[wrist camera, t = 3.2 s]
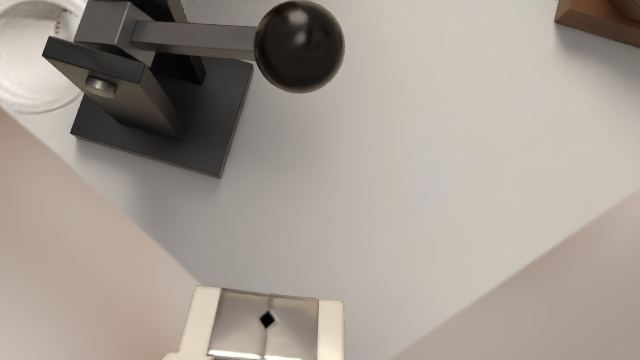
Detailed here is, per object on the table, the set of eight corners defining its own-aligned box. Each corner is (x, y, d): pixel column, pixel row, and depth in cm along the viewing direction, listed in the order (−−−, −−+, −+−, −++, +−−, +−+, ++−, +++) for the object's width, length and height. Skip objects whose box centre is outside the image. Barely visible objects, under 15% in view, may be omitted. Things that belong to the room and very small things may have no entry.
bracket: (253, 69, 40) (243, -30, 26) (220, 178, 38) (190, 134, 25) (114, 28, 39) (29, -94, 26) (75, 137, 38) (-36, 69, 24)
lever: (367, 30, 23) (333, -19, 20) (345, 111, 23) (306, 74, 20) (136, 17, 30) (82, -22, 26) (114, 81, 29) (56, 49, 26)
